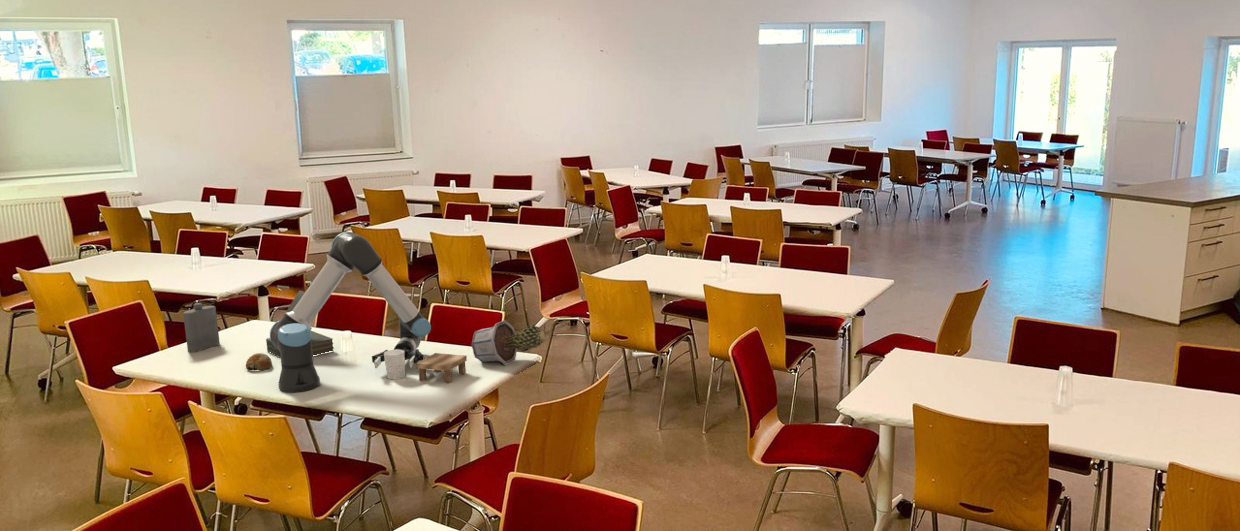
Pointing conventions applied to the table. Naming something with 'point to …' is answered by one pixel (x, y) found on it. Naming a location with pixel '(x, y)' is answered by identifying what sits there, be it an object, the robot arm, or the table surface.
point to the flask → (201, 327)
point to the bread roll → (258, 362)
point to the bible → (318, 340)
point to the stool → (442, 365)
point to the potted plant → (504, 342)
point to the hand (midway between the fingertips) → (393, 364)
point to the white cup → (395, 363)
